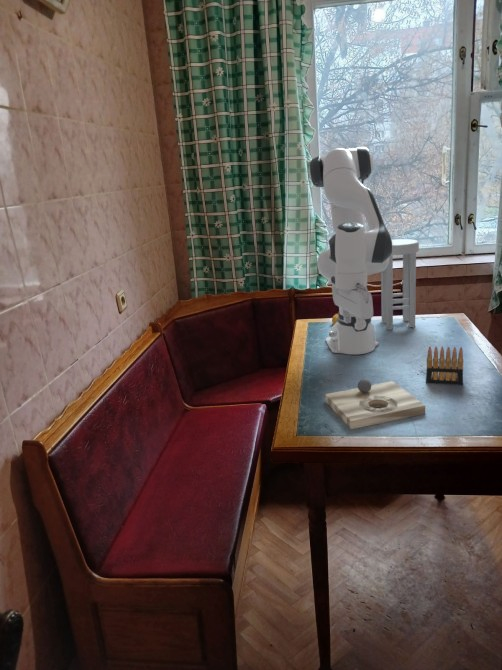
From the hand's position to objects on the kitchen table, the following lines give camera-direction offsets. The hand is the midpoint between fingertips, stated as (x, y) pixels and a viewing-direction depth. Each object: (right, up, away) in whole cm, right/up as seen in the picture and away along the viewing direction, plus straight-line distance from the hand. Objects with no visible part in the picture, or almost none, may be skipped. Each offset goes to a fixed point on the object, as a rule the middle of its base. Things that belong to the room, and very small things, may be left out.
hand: (352, 325), depth 147 cm
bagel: (+10, +1, +69) cm, 70 cm away
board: (+5, -24, -5) cm, 25 cm away
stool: (+32, +2, +63) cm, 71 cm away
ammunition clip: (+30, -18, +6) cm, 35 cm away
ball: (+3, -18, -1) cm, 18 cm away
